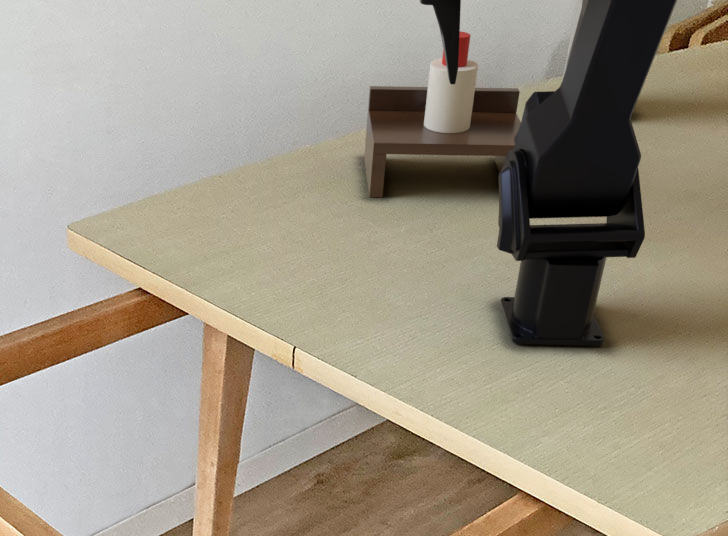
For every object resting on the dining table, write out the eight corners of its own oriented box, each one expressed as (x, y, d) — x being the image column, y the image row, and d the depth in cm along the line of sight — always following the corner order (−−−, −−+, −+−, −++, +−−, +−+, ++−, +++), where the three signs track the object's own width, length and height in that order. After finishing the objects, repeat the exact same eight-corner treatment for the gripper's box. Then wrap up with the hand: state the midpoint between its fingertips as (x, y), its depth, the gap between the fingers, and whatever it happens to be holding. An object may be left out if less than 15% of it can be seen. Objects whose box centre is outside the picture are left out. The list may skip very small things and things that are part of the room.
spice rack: (523, 200, 98) (536, 122, 94) (369, 197, 99) (375, 120, 95) (506, 160, 106) (518, 88, 102) (364, 158, 107) (369, 85, 103)
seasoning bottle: (472, 133, 98) (485, 41, 93) (425, 133, 98) (436, 40, 93) (466, 118, 101) (478, 28, 96) (421, 118, 101) (431, 27, 96)
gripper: (648, -155, 83) (605, 57, 92) (404, -156, 84) (386, 54, 93) (689, -134, 74) (637, 97, 84) (416, -136, 75) (395, 93, 84)
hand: (509, 83), depth 86 cm, fingers open, 9 cm apart
